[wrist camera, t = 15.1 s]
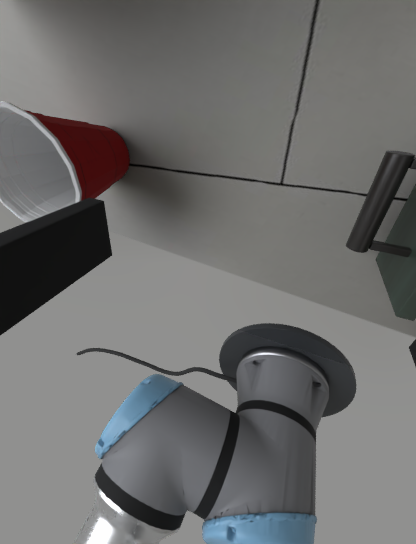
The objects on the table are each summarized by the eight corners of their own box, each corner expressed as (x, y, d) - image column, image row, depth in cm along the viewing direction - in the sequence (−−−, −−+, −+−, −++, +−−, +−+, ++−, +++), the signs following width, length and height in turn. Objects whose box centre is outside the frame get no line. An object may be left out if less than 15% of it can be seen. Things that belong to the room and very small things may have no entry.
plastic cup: (131, 215, 35) (61, 255, 25) (68, 163, 34) (-29, 185, 24) (164, 144, 28) (85, 164, 18) (86, 78, 27) (-39, 63, 18)
